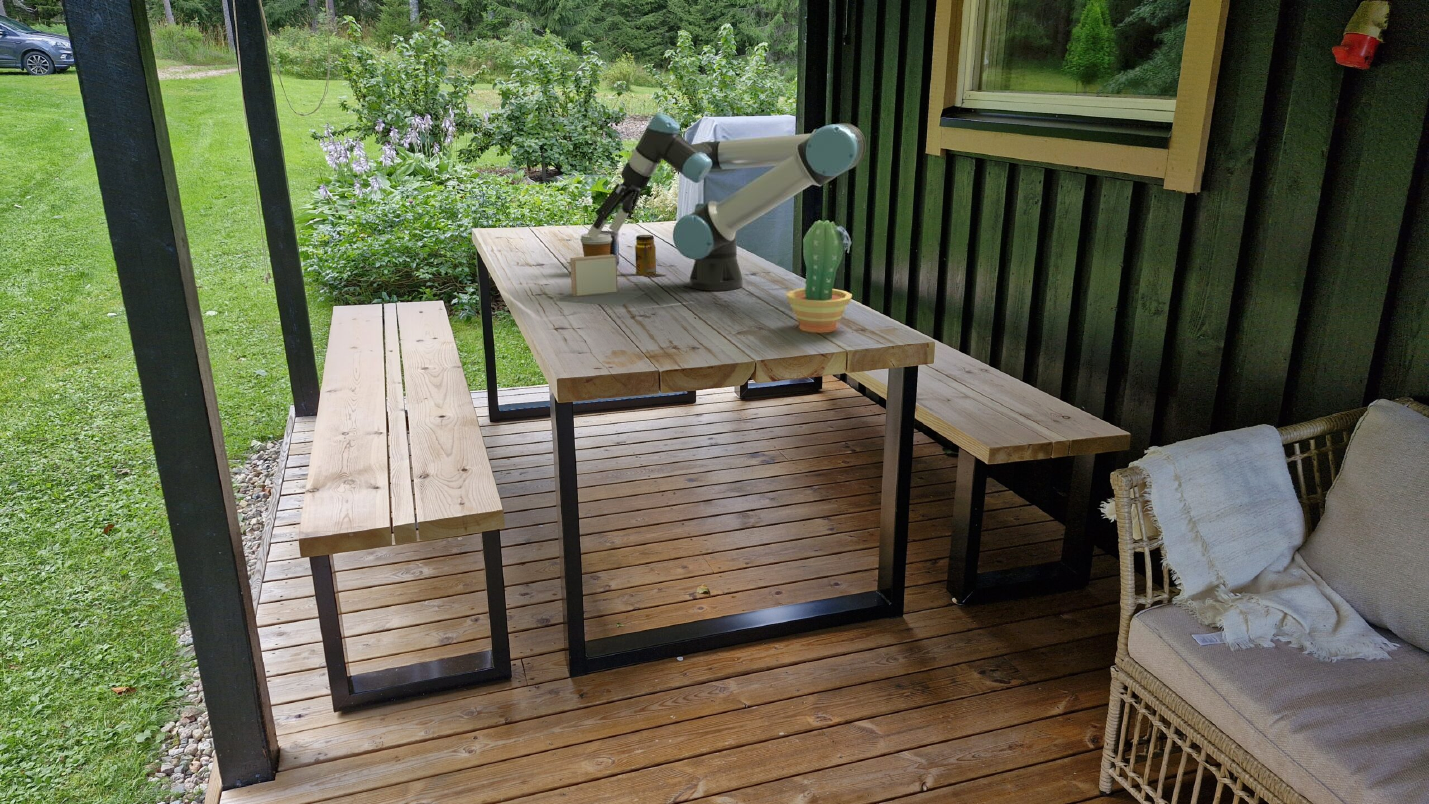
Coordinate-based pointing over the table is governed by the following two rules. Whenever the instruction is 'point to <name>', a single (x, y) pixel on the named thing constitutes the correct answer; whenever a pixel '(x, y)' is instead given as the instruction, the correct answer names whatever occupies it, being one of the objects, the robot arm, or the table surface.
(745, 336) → the table surface
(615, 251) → the small box
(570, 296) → the mat
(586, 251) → the disposable coffee cup
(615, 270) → the tile
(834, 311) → the potted cactus
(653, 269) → the condiment
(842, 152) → the robot arm
